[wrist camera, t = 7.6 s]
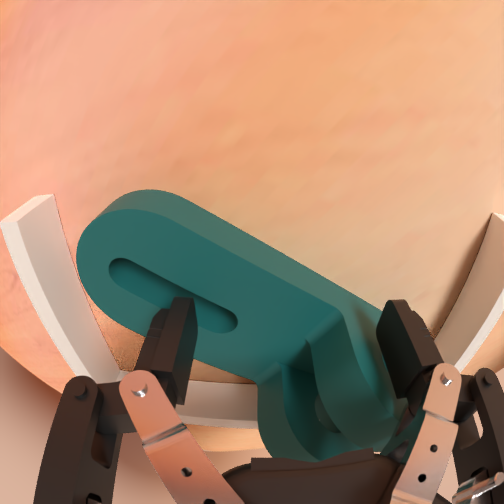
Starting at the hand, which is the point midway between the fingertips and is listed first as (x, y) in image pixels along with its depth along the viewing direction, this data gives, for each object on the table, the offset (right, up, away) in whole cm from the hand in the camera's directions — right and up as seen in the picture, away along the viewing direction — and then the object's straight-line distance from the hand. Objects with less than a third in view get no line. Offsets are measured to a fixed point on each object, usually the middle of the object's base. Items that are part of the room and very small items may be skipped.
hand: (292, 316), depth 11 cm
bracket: (-1, 0, +4) cm, 4 cm away
